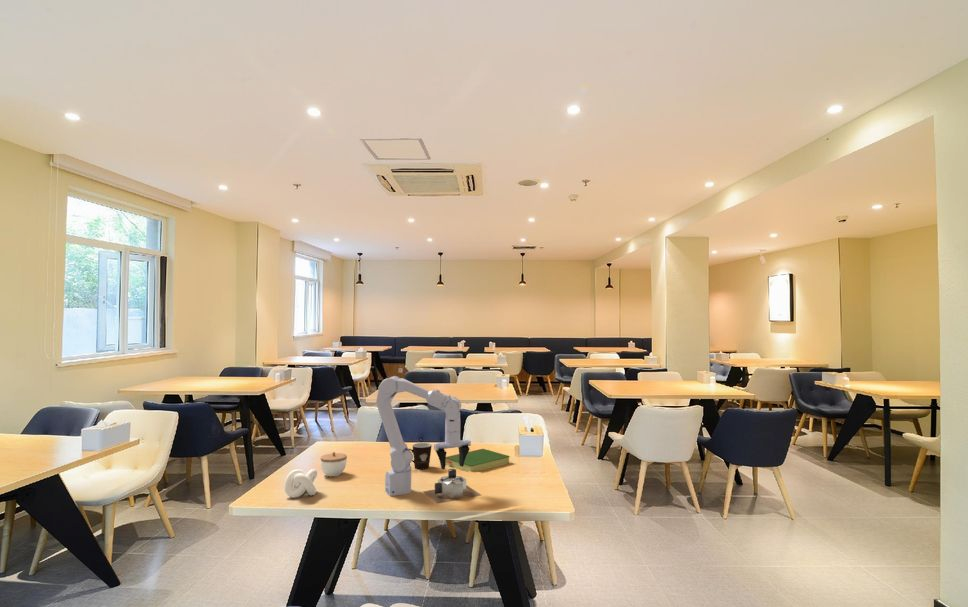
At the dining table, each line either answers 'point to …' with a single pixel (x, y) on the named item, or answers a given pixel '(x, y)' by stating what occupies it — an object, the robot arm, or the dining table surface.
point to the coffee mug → (421, 455)
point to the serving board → (439, 499)
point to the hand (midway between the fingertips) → (452, 467)
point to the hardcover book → (478, 460)
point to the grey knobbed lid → (452, 477)
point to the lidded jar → (333, 463)
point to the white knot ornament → (300, 483)
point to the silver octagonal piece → (451, 488)
